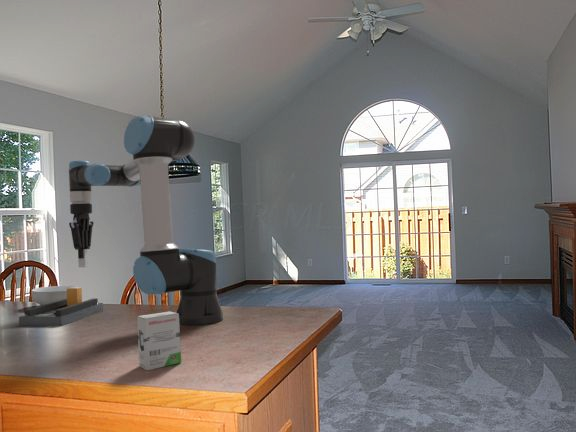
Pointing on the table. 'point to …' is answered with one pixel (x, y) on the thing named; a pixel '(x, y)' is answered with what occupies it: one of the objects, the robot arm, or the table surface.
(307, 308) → the table surface
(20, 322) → the grey slider base
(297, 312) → the table surface
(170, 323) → the ink box
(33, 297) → the cereal bowl
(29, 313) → the dark grey edge bar
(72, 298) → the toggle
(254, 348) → the table surface
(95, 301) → the long dark grey rail
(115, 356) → the table surface
